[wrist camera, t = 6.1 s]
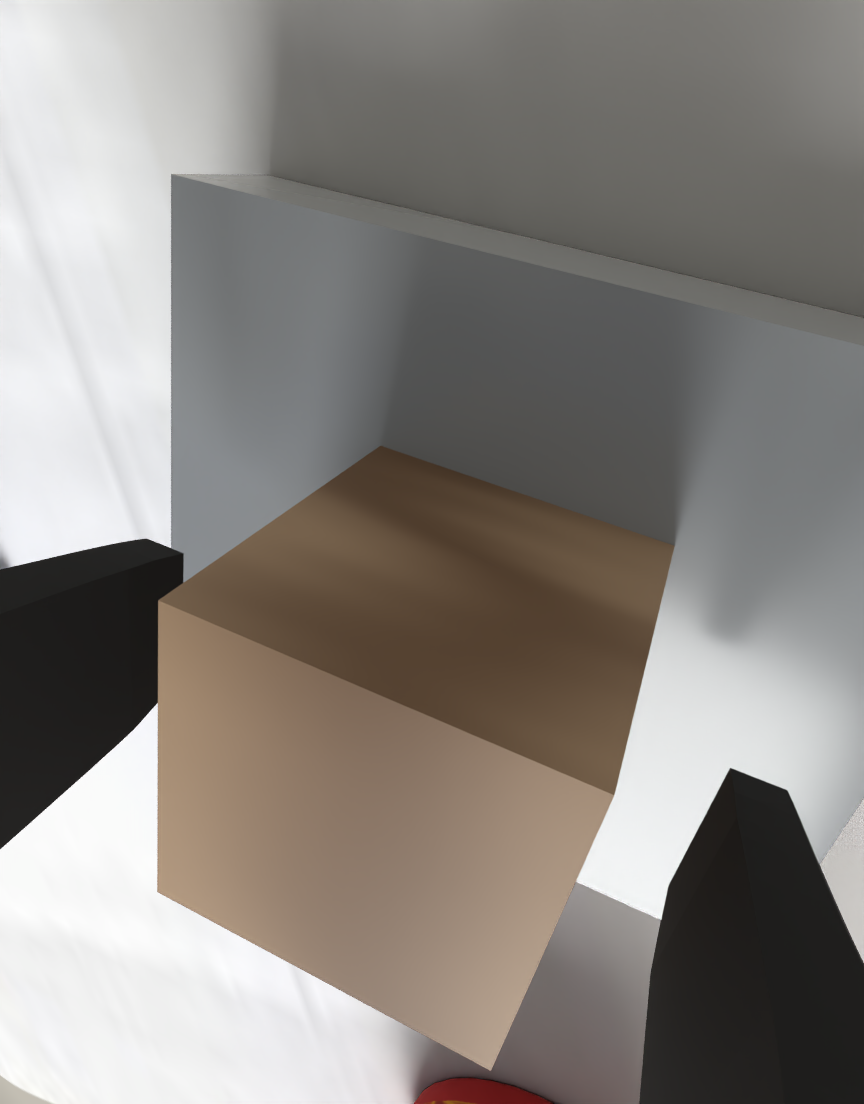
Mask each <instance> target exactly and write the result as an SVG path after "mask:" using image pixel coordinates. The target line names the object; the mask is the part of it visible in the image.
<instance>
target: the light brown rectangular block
mask: <svg viewBox="0 0 864 1104" xmlns="http://www.w3.org/2000/svg"><path fill="white" fill-rule="evenodd" d="M674 547H675V546H674V545H671V544H668V543H665V542H662V541H659V540H656V539H653V538H650V537H647V536H644V535H641V534H639V533H636V532H633V531H630V530H627V529H624V528H621V527H618V526H615V525H612V524H609V523H606V522H603V521H600V520H597V519H594V518H592V517H589V516H586V515H583V514H580V513H577V512H574V511H571V510H568V509H565V508H562V507H559V506H556V505H553V504H550V503H547V502H545V501H542V500H539V499H536V498H533V497H530V496H527V495H524V494H521V493H518V492H515V491H512V490H509V489H506V488H503V487H500V486H498V485H495V484H492V483H489V482H486V481H483V480H480V479H477V478H474V477H471V476H468V475H465V474H462V473H459V472H456V471H453V470H451V469H448V468H445V467H442V466H439V465H436V464H433V463H430V462H427V461H424V460H421V459H418V458H415V457H412V456H409V455H406V454H404V453H401V452H398V451H395V450H392V449H389V448H386V447H383V446H379V447H378V448H376V449H375V450H373V451H372V452H371V453H369V454H368V455H366V456H365V457H363V458H362V459H361V460H359V461H358V462H356V463H355V464H353V465H352V466H351V467H349V468H348V469H346V470H345V471H343V472H342V473H340V474H339V475H338V476H336V477H335V478H333V479H332V480H330V481H329V482H328V483H326V484H325V485H323V486H322V487H320V488H319V489H317V490H316V491H315V492H313V493H312V494H310V495H309V496H307V497H306V498H305V499H303V500H302V501H300V502H299V503H297V504H296V505H295V506H293V507H292V508H290V509H289V510H287V511H286V512H284V513H283V514H282V515H280V516H279V517H277V518H276V519H274V520H273V521H272V522H270V523H269V524H267V525H266V526H264V527H263V528H261V529H260V530H259V531H257V532H256V533H254V534H253V535H251V536H250V537H249V538H247V539H246V540H244V541H243V542H241V543H240V544H239V545H237V546H236V547H234V548H233V549H231V550H230V551H228V552H227V553H226V554H224V555H223V556H221V557H220V558H218V559H217V560H216V561H214V562H213V563H211V564H210V565H208V566H207V567H205V568H204V569H203V570H201V571H200V572H198V573H197V574H195V575H194V576H193V577H191V578H190V579H188V580H187V581H185V582H184V583H183V584H181V585H180V586H178V587H177V588H175V589H174V590H172V591H171V592H170V593H168V594H167V595H165V596H164V597H162V598H161V599H160V600H158V876H157V892H158V893H160V894H162V895H164V896H166V897H168V898H170V899H172V900H173V901H175V902H177V903H179V904H181V905H183V906H185V907H186V908H188V909H190V910H192V911H194V912H196V913H198V914H199V915H201V916H203V917H205V918H207V919H209V920H211V921H212V922H214V923H216V924H218V925H220V926H222V927H224V928H225V929H227V930H229V931H231V932H233V933H235V934H237V935H238V936H240V937H242V938H244V939H246V940H248V941H250V942H252V943H253V944H255V945H257V946H259V947H261V948H263V949H265V950H266V951H268V952H270V953H272V954H274V955H276V956H278V957H279V958H281V959H283V960H285V961H287V962H289V963H291V964H292V965H294V966H296V967H298V968H300V969H302V970H304V971H305V972H307V973H309V974H311V975H313V976H315V977H317V978H318V979H320V980H322V981H324V982H326V983H328V984H330V985H332V986H333V987H335V988H337V989H339V990H341V991H343V992H345V993H346V994H348V995H350V996H352V997H354V998H356V999H358V1000H359V1001H361V1002H363V1003H365V1004H367V1005H369V1006H371V1007H372V1008H374V1009H376V1010H378V1011H380V1012H382V1013H384V1014H385V1015H387V1016H389V1017H391V1018H393V1019H395V1020H397V1021H398V1022H400V1023H402V1024H404V1025H406V1026H408V1027H410V1028H411V1029H413V1030H415V1031H417V1032H419V1033H421V1034H423V1035H425V1036H426V1037H428V1038H430V1039H432V1040H434V1041H436V1042H438V1043H439V1044H441V1045H443V1046H445V1047H447V1048H449V1049H451V1050H452V1051H454V1052H456V1053H458V1054H460V1055H462V1056H464V1057H465V1058H467V1059H469V1060H471V1061H473V1062H475V1063H477V1064H478V1065H480V1066H482V1067H484V1068H486V1069H488V1070H490V1071H491V1070H492V1067H493V1065H494V1063H495V1061H496V1058H497V1056H498V1054H499V1052H500V1050H501V1047H502V1045H503V1043H504V1041H505V1038H506V1036H507V1034H508V1032H509V1029H510V1027H511V1025H512V1023H513V1021H514V1018H515V1016H516V1014H517V1012H518V1009H519V1007H520V1005H521V1003H522V1000H523V998H524V996H525V994H526V992H527V989H528V987H529V985H530V983H531V980H532V978H533V976H534V974H535V971H536V969H537V967H538V965H539V962H540V960H541V958H542V956H543V954H544V951H545V949H546V947H547V945H548V942H549V940H550V938H551V936H552V933H553V931H554V929H555V927H556V925H557V922H558V920H559V918H560V916H561V913H562V911H563V909H564V907H565V904H566V902H567V900H568V898H569V896H570V893H571V891H572V889H573V887H574V884H575V882H576V880H577V878H578V875H579V873H580V871H581V869H582V867H583V864H584V862H585V860H586V858H587V855H588V853H589V851H590V849H591V846H592V844H593V842H594V840H595V838H596V835H597V833H598V831H599V829H600V826H601V824H602V822H603V820H604V817H605V815H606V813H607V811H608V809H609V806H610V804H611V802H612V800H613V797H614V795H615V791H616V787H617V783H618V778H619V774H620V770H621V766H622V762H623V758H624V754H625V750H626V745H627V741H628V737H629V733H630V729H631V725H632V721H633V717H634V712H635V708H636V704H637V700H638V696H639V692H640V688H641V683H642V679H643V675H644V671H645V667H646V663H647V659H648V655H649V650H650V646H651V642H652V638H653V634H654V630H655V626H656V622H657V617H658V613H659V609H660V605H661V601H662V597H663V593H664V589H665V584H666V580H667V576H668V572H669V568H670V564H671V560H672V555H673V551H674Z"/></svg>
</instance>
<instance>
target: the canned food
mask: <svg viewBox="0 0 864 1104" xmlns="http://www.w3.org/2000/svg"><path fill="white" fill-rule="evenodd" d="M414 1104H554V1103H552V1102H550V1101H548V1100H546V1099H544V1098H542V1097H540V1096H538V1095H535V1094H533V1093H530V1092H527V1091H525V1090H522V1089H520V1088H517V1087H514V1086H511V1085H507V1084H503V1083H499V1082H496V1081H492V1080H484V1079H476V1078H455V1079H448V1080H445V1081H441V1082H437V1083H434V1084H433V1085H431V1086H430V1087H428V1088H427V1089H425V1090H424V1091H423V1092H422V1093H421V1095H420V1096H419V1097H418V1099H417V1100H416V1101H415V1102H414Z"/></svg>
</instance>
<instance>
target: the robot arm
mask: <svg viewBox="0 0 864 1104" xmlns="http://www.w3.org/2000/svg"><path fill="white" fill-rule="evenodd" d="M183 569H184V553H182V552H179V551H177V550H174V549H171V548H169V547H166V546H164V545H161V544H159V543H156V542H154V541H151V540H149V539H140V540H134V541H127V542H121V543H116V544H111V545H106V546H101V547H97V548H92V549H88V550H83V551H79V552H74V553H70V554H66V555H61V556H57V557H53V558H49V559H44V560H40V561H36V562H31V563H27V564H23V565H19V566H14V567H10V568H6V569H1V570H0V849H1V848H2V847H3V846H4V845H6V844H7V843H8V842H9V841H10V840H11V839H12V838H13V837H15V836H16V835H17V834H18V833H19V832H20V831H21V830H22V829H24V828H25V827H26V826H27V825H28V824H29V823H30V822H31V821H33V820H34V819H35V818H36V817H37V816H38V815H39V814H40V813H42V812H43V811H44V810H45V809H46V808H47V807H48V806H49V805H51V804H52V803H53V802H54V801H55V800H56V799H57V798H58V797H60V796H61V795H62V794H63V793H64V792H65V791H66V790H67V789H69V788H70V787H71V786H72V785H73V784H74V783H75V782H76V781H78V780H79V779H80V778H81V777H82V776H83V775H84V774H85V773H87V772H88V771H89V770H90V769H91V768H92V767H93V766H94V765H95V764H97V763H98V762H99V761H100V760H101V759H102V758H103V757H104V756H105V755H106V754H108V753H109V752H110V751H111V750H112V749H113V748H114V747H115V746H116V745H117V744H119V743H120V742H121V741H122V740H123V739H124V738H125V737H126V736H127V735H128V734H129V733H130V732H131V731H133V730H134V729H135V727H136V726H137V725H138V724H139V723H140V722H141V721H142V720H143V718H144V717H145V716H146V715H147V714H148V713H149V712H150V711H151V709H152V708H153V707H154V706H155V705H156V704H157V703H158V600H160V599H161V598H162V597H164V596H165V595H167V594H168V593H170V592H171V591H172V590H174V589H175V588H177V587H178V586H180V585H181V584H183ZM639 1104H864V963H863V961H862V959H861V957H860V954H859V952H858V950H857V948H856V946H855V944H854V942H853V940H852V938H851V935H850V933H849V931H848V929H847V926H846V924H845V922H844V920H843V918H842V915H841V913H840V911H839V909H838V906H837V904H836V902H835V899H834V897H833V895H832V893H831V890H830V888H829V886H828V883H827V881H826V879H825V876H824V874H823V872H822V869H821V867H820V865H819V862H818V860H817V858H816V855H815V853H814V851H813V848H812V846H811V843H810V841H809V839H808V836H807V834H806V831H805V829H804V827H803V824H802V822H801V819H800V817H799V815H798V812H797V810H796V808H795V805H794V803H793V801H792V799H791V797H790V795H789V793H788V791H787V790H786V789H783V788H781V787H778V786H775V785H773V784H770V783H768V782H765V781H763V780H760V779H758V778H755V777H753V776H750V775H747V774H745V773H742V772H740V771H737V770H735V769H732V768H730V769H729V771H728V773H727V775H726V777H725V779H724V780H723V782H722V784H721V786H720V788H719V790H718V792H717V794H716V796H715V798H714V800H713V801H712V803H711V805H710V807H709V809H708V811H707V813H706V815H705V817H704V819H703V821H702V822H701V824H700V826H699V828H698V830H697V832H696V834H695V836H694V838H693V840H692V842H691V843H690V845H689V847H688V849H687V851H686V853H685V855H684V857H683V859H682V861H681V863H680V864H679V866H678V868H677V870H676V872H675V874H674V876H673V878H672V880H671V882H670V884H669V886H668V890H667V895H666V900H665V904H664V909H663V914H662V919H661V923H660V928H659V933H658V938H657V943H656V948H655V953H654V958H653V964H652V969H651V976H650V987H649V997H648V1009H647V1020H646V1031H645V1043H644V1054H643V1066H642V1078H641V1090H640V1102H639Z"/></svg>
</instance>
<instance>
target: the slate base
mask: <svg viewBox="0 0 864 1104" xmlns="http://www.w3.org/2000/svg"><path fill="white" fill-rule="evenodd" d="M379 446H383V447H386V448H389V449H392V450H395V451H398V452H401V453H404V454H406V455H409V456H412V457H415V458H418V459H421V460H424V461H427V462H430V463H433V464H436V465H439V466H442V467H445V468H448V469H451V470H453V471H456V472H459V473H462V474H465V475H468V476H471V477H474V478H477V479H480V480H483V481H486V482H489V483H492V484H495V485H498V486H500V487H503V488H506V489H509V490H512V491H515V492H518V493H521V494H524V495H527V496H530V497H533V498H536V499H539V500H542V501H545V502H547V503H550V504H553V505H556V506H559V507H562V508H565V509H568V510H571V511H574V512H577V513H580V514H583V515H586V516H589V517H592V518H594V519H597V520H600V521H603V522H606V523H609V524H612V525H615V526H618V527H621V528H624V529H627V530H630V531H633V532H636V533H639V534H641V535H644V536H647V537H650V538H653V539H656V540H659V541H662V542H665V543H668V544H671V545H674V546H675V547H674V551H673V555H672V560H671V564H670V568H669V572H668V576H667V580H666V584H665V589H664V593H663V597H662V601H661V605H660V609H659V613H658V617H657V622H656V626H655V630H654V634H653V638H652V642H651V646H650V650H649V655H648V659H647V663H646V667H645V671H644V675H643V679H642V683H641V688H640V692H639V696H638V700H637V704H636V708H635V712H634V717H633V721H632V725H631V729H630V733H629V737H628V741H627V745H626V750H625V754H624V758H623V762H622V766H621V770H620V774H619V778H618V783H617V787H616V791H615V795H614V797H613V800H612V802H611V804H610V806H609V809H608V811H607V813H606V815H605V817H604V820H603V822H602V824H601V826H600V829H599V831H598V833H597V835H596V838H595V840H594V842H593V844H592V846H591V849H590V851H589V853H588V855H587V858H586V860H585V862H584V864H583V867H582V869H581V871H580V873H579V875H578V878H577V880H576V882H577V883H579V884H582V885H584V886H586V887H588V888H590V889H593V890H595V891H597V892H599V893H602V894H604V895H606V896H608V897H610V898H613V899H615V900H617V901H619V902H622V903H624V904H626V905H628V906H630V907H633V908H635V909H637V910H639V911H642V912H644V913H646V914H648V915H650V916H653V917H655V918H657V919H659V920H661V919H662V914H663V909H664V904H665V900H666V895H667V890H668V886H669V884H670V882H671V880H672V878H673V876H674V874H675V872H676V870H677V868H678V866H679V864H680V863H681V861H682V859H683V857H684V855H685V853H686V851H687V849H688V847H689V845H690V843H691V842H692V840H693V838H694V836H695V834H696V832H697V830H698V828H699V826H700V824H701V822H702V821H703V819H704V817H705V815H706V813H707V811H708V809H709V807H710V805H711V803H712V801H713V800H714V798H715V796H716V794H717V792H718V790H719V788H720V786H721V784H722V782H723V780H724V779H725V777H726V775H727V773H728V771H729V769H730V768H732V769H735V770H737V771H740V772H742V773H745V774H747V775H750V776H753V777H755V778H758V779H760V780H763V781H765V782H768V783H770V784H773V785H775V786H778V787H781V788H783V789H786V790H787V791H788V793H789V795H790V797H791V799H792V801H793V803H794V805H795V808H796V810H797V812H798V815H799V817H800V819H801V822H802V824H803V827H804V829H805V831H806V834H807V836H808V839H809V841H810V843H811V846H812V848H813V851H814V853H815V855H816V858H817V860H818V862H819V865H820V863H821V862H822V860H823V859H824V857H825V856H826V854H827V853H828V851H829V850H830V848H831V847H832V845H833V844H834V842H835V841H836V839H837V838H838V836H839V835H840V833H841V832H842V830H843V829H844V827H845V826H846V824H847V823H848V821H849V820H850V818H851V817H852V815H853V814H854V812H855V811H856V809H857V808H858V806H859V805H860V803H861V802H862V800H863V799H864V318H863V317H859V316H854V315H850V314H846V313H842V312H838V311H834V310H829V309H825V308H821V307H817V306H813V305H809V304H804V303H800V302H796V301H792V300H788V299H783V298H779V297H775V296H771V295H767V294H763V293H758V292H754V291H750V290H746V289H742V288H738V287H733V286H729V285H725V284H721V283H717V282H712V281H708V280H704V279H700V278H696V277H692V276H687V275H683V274H679V273H675V272H671V271H667V270H662V269H658V268H654V267H650V266H646V265H641V264H637V263H633V262H629V261H625V260H621V259H616V258H612V257H608V256H604V255H600V254H595V253H591V252H587V251H583V250H579V249H575V248H570V247H566V246H562V245H558V244H554V243H550V242H545V241H541V240H537V239H533V238H529V237H524V236H520V235H516V234H512V233H508V232H504V231H499V230H495V229H491V228H487V227H483V226H479V225H474V224H470V223H466V222H462V221H458V220H453V219H449V218H445V217H441V216H437V215H433V214H428V213H424V212H420V211H416V210H412V209H408V208H403V207H399V206H395V205H391V204H387V203H382V202H378V201H374V200H370V199H366V198H362V197H357V196H353V195H349V194H345V193H341V192H337V191H332V190H328V189H324V188H320V187H316V186H311V185H307V184H303V183H299V182H295V181H291V180H286V179H282V178H278V177H274V176H270V175H208V174H171V549H174V550H177V551H179V552H182V553H184V569H183V583H184V582H185V581H187V580H188V579H190V578H191V577H193V576H194V575H195V574H197V573H198V572H200V571H201V570H203V569H204V568H205V567H207V566H208V565H210V564H211V563H213V562H214V561H216V560H217V559H218V558H220V557H221V556H223V555H224V554H226V553H227V552H228V551H230V550H231V549H233V548H234V547H236V546H237V545H239V544H240V543H241V542H243V541H244V540H246V539H247V538H249V537H250V536H251V535H253V534H254V533H256V532H257V531H259V530H260V529H261V528H263V527H264V526H266V525H267V524H269V523H270V522H272V521H273V520H274V519H276V518H277V517H279V516H280V515H282V514H283V513H284V512H286V511H287V510H289V509H290V508H292V507H293V506H295V505H296V504H297V503H299V502H300V501H302V500H303V499H305V498H306V497H307V496H309V495H310V494H312V493H313V492H315V491H316V490H317V489H319V488H320V487H322V486H323V485H325V484H326V483H328V482H329V481H330V480H332V479H333V478H335V477H336V476H338V475H339V474H340V473H342V472H343V471H345V470H346V469H348V468H349V467H351V466H352V465H353V464H355V463H356V462H358V461H359V460H361V459H362V458H363V457H365V456H366V455H368V454H369V453H371V452H372V451H373V450H375V449H376V448H378V447H379Z"/></svg>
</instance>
